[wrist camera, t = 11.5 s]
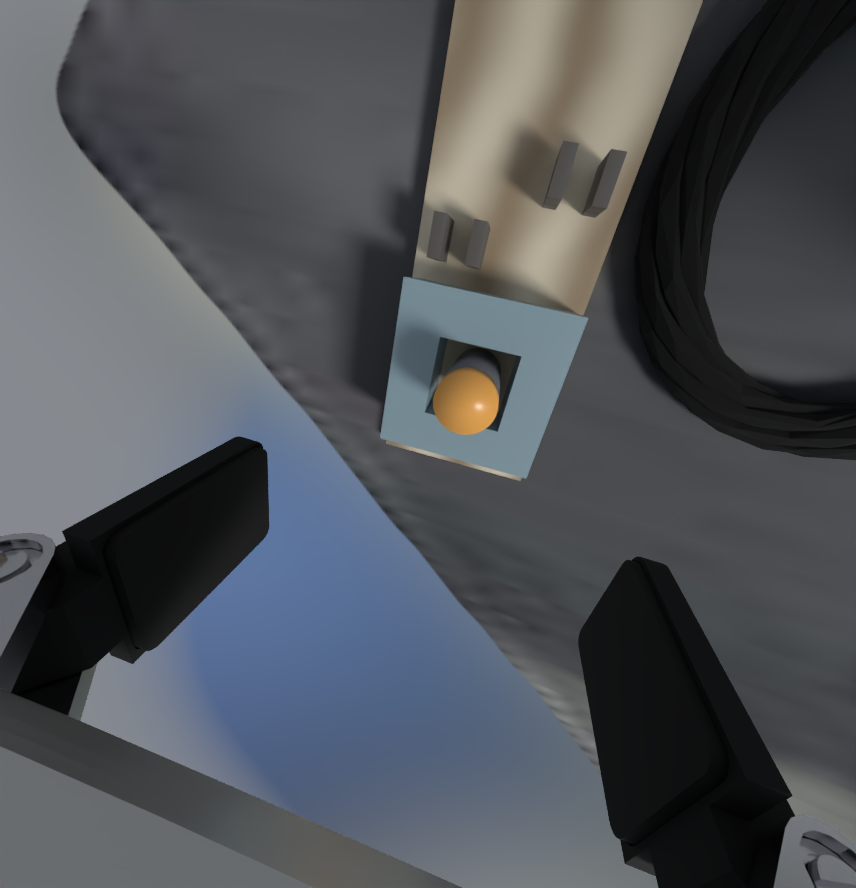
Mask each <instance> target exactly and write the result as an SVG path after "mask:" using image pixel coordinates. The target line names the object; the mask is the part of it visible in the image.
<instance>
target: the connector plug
mask: <svg viewBox="0 0 856 888" xmlns="http://www.w3.org/2000/svg"><path fill="white" fill-rule="evenodd" d="M500 378H501V367H500V364H499V361H498V359H497V358H496V357H495V356H494V355H493V354H492V353H491V352H489V351H487V350H485V349H481V348H474V349H470V350H467V351H465V352H464V353H462V354H461V355H460V356H459V357H458V359H457V360H456V361H455V363H454V364H453V366H452V367H451V368H450V370H449V371H448V373H447V374H446V375H445V377H444V378H443V380H442V381H441V383H440V384H439V385H438V387H437V389H436V391H435V393H434V397H433V409H434V412H435V415H436V417H437V419H438V420H439V422H440V423H441V424H442V425H443V426H444V427H445V428H446V429H448V430H450V431H452V432H454V433H457V434H461V435H471V434H476V433H479V432H481V431H483V430H485V429H486V428H487V427H488V426H489V425H490V424H491V423H492V422H493V421H494V419H495V417H496V415H497V411H498V404H499V391H500Z"/></svg>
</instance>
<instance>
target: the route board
mask: <svg viewBox="0 0 856 888" xmlns="http://www.w3.org/2000/svg"><path fill="white" fill-rule="evenodd" d="M702 2H703V0H455V6H454V13H453V19H452V26H451V32H450V38H449V45H448V51H447V58H446V64H445V70H444V77H443V83H442V90H441V96H440V102H439V109H438V115H437V122H436V128H435V134H434V141H433V147H432V154H431V160H430V166H429V173H428V179H427V186H426V192H425V198H424V205H423V211H422V217H421V224H420V230H419V237H418V243H417V249H416V256H415V262H414V269H413V275H412V277H414V278H422V279H426V280H431V281H435V282H440V283H444V284H449V285H453V286H457V287H462V288H466V289H471V290H475V291H480V292H484V293H489V294H493V295H498V296H502V297H507V298H511V299H516V300H520V301H525V302H529V303H534V304H538V305H542V306H547V307H551V308H556V309H560V310H565V311H569V312H574V313H577V314H580V315H582V316H583V315H584V312H585V310H586V307H587V304H588V302H589V299H590V296H591V294H592V291H593V289H594V286H595V283H596V281H597V278H598V275H599V273H600V270H601V268H602V265H603V262H604V260H605V257H606V254H607V252H608V249H609V247H610V244H611V241H612V239H613V236H614V233H615V231H616V228H617V225H618V223H619V220H620V218H621V215H622V212H623V210H624V207H625V204H626V202H627V199H628V197H629V194H630V191H631V189H632V186H633V183H634V181H635V178H636V176H637V173H638V170H639V168H640V165H641V162H642V160H643V157H644V155H645V152H646V149H647V147H648V144H649V141H650V139H651V136H652V134H653V131H654V128H655V126H656V123H657V120H658V118H659V115H660V112H661V110H662V107H663V105H664V102H665V99H666V97H667V94H668V91H669V89H670V86H671V84H672V81H673V78H674V76H675V73H676V70H677V68H678V65H679V63H680V60H681V57H682V55H683V52H684V49H685V47H686V44H687V42H688V39H689V36H690V34H691V31H692V28H693V26H694V23H695V21H696V18H697V15H698V13H699V10H700V7H701V5H702ZM474 348H481V349H485V350H487V351H489V352H491V353H492V354H493V355H494V356H495V357H496V358H497V359H498V361H499V364H500V367H501V378H500V391H499V404H498V411H497V412H499V411H500V408H501V405H502V402H503V398H504V395H505V392H506V389H507V386H508V382H509V379H510V376H511V373H512V370H513V366H514V363H515V360H516V357H517V355H514V354H509V353H505V352H501V351H497V350H493V349H489V348H484V347H480V346H476V345H472V344H468V343H464V342H460V341H455V340H451V339H448V340H447V345H446V350H445V354H444V359H443V363H442V368H441V373H440V377H439V382H438V385H439V384H440V383H441V381H442V380H443V378H444V377H445V375H446V374H447V373H448V371H449V370H450V368H451V367H452V366H453V364H454V363H455V361H456V360H457V359H458V357H459V356H460V355H461V354H462V353H464V352H465V351H467V350H470V349H474ZM386 444H390V445H393V446H397V447H400V448H404V449H407V450H411V451H415V452H418V453H422V454H425V455H429V456H433V457H436V458H440V459H443V460H447V461H451V462H454V463H458V464H461V465H465V466H468V467H472V468H476V469H479V470H483V471H486V472H490V473H494V474H497V475H501V476H504V477H508V478H512V479H515V480H519V481H520V480H521V478H522V477H518V476H515V475H511V474H508V473H504V472H500V471H497V470H493V469H490V468H486V467H482V466H479V465H475V464H472V463H468V462H464V461H461V460H457V459H454V458H450V457H446V456H443V455H439V454H436V453H432V452H428V451H425V450H421V449H418V448H414V447H410V446H407V445H403V444H400V443H396V442H392V441H389V440H387V441H386Z"/></svg>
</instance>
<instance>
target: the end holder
mask: <svg viewBox="0 0 856 888" xmlns="http://www.w3.org/2000/svg"><path fill="white" fill-rule="evenodd" d="M587 321H588V318H587V317H585V316H582V315H580V314H577V313H574V312H569V311H565V310H560V309H556V308H551V307H547V306H542V305H538V304H534V303H529V302H525V301H520V300H516V299H511V298H507V297H502V296H498V295H493V294H489V293H484V292H480V291H475V290H471V289H466V288H462V287H457V286H453V285H449V284H444V283H440V282H435V281H431V280H426V279H422V278H414V277H403V284H402V291H401V298H400V305H399V312H398V318H397V325H396V332H395V339H394V346H393V353H392V360H391V366H390V373H389V380H388V387H387V394H386V401H385V407H384V414H383V421H382V428H381V435H380V438H382V439H385V440H389V441H392V442H396V443H400V444H403V445H407V446H410V447H414V448H418V449H421V450H425V451H428V452H432V453H436V454H439V455H443V456H446V457H450V458H454V459H457V460H461V461H464V462H468V463H472V464H475V465H479V466H482V467H486V468H490V469H493V470H497V471H500V472H504V473H508V474H511V475H515V476H518V477H522V478H527V475H528V473H529V470H530V467H531V465H532V462H533V460H534V457H535V454H536V452H537V449H538V447H539V444H540V442H541V439H542V436H543V434H544V431H545V429H546V426H547V424H548V421H549V418H550V416H551V413H552V411H553V408H554V406H555V403H556V400H557V398H558V395H559V393H560V390H561V388H562V385H563V382H564V380H565V377H566V375H567V372H568V370H569V367H570V364H571V362H572V359H573V357H574V354H575V352H576V349H577V346H578V344H579V341H580V339H581V336H582V333H583V331H584V328H585V326H586V323H587ZM448 339H451V340H455V341H460V342H464V343H468V344H472V345H476V346H480V347H484V348H489V349H493V350H497V351H501V352H505V353H509V354H514V355H517V357H516V360H515V363H514V366H513V370H512V373H511V376H510V379H509V382H508V386H507V389H506V392H505V395H504V398H503V402H502V405H501V408H500V411H499V412H497V415H496V417H495V419H494V421H493V422H492V423H491V424H490V425H489V426H488V427H487V428H486V429H485V430H483V431H481V432H479V433H476V434H471V435H461V434H457V433H454V432H452V431H450V430H448V429H446V428H445V427H444V426H443V425H442V424H441V423H440V422H439V420H438V419H437V417H436V415H435V412H434V409H433V397H434V393H435V391H436V389H437V387H438V382H439V377H440V373H441V368H442V363H443V359H444V354H445V350H446V345H447V340H448Z"/></svg>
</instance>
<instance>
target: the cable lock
mask: <svg viewBox="0 0 856 888" xmlns="http://www.w3.org/2000/svg"><path fill="white" fill-rule="evenodd" d="M855 23H856V0H768V1H767V2H766V4H765V5H764V6H763V8H762V9H761V10H760V12H759V13H758V14H757V15H756V16H755V17H754V18H753V20H752V21H751V22H750V23H749V24H748V25H747V26H746V28H745V29H744V30H743V31H742V32H741V33H740V34H739V36H738V37H737V38H736V39H735V40H734V41H733V42H732V44H731V45H730V46H729V47H728V48H727V49H726V50H725V52H724V54H723V55H722V57H721V58H720V60H719V61H718V63H717V64H716V66H715V67H714V69H713V70H712V72H711V73H710V75H709V76H708V78H707V79H706V81H705V82H704V84H703V86H702V87H701V89H700V90H699V92H698V93H697V95H696V96H695V98H694V99H693V101H692V102H691V104H690V105H689V107H688V109H687V112H686V114H685V117H684V120H683V122H682V124H681V125H680V127H679V129H678V131H677V133H676V135H675V137H674V139H673V141H672V143H671V145H670V147H669V148H668V150H667V152H666V154H665V156H664V158H663V160H662V162H661V164H660V167H659V170H658V172H657V175H656V178H655V181H654V184H653V187H652V190H651V193H650V196H649V198H648V201H647V204H646V207H645V210H644V213H643V224H642V230H641V235H640V239H639V243H638V248H637V252H636V256H635V290H636V300H637V306H638V312H639V318H640V333H641V335H642V338H643V340H644V343H645V346H646V348H647V351H648V353H649V356H650V359H651V361H652V364H653V366H654V367H655V369H656V370H657V372H658V373H659V375H660V377H661V378H662V380H663V381H664V383H665V384H666V386H667V388H668V389H669V391H670V392H671V393H672V394H673V395H674V396H676V397H677V398H678V399H679V400H680V401H681V402H683V403H684V405H685V406H686V407H687V408H688V409H689V410H690V411H691V412H692V413H693V414H695V415H696V416H697V417H699V418H700V419H702V420H703V421H705V422H706V423H707V424H709V425H710V426H712V427H713V428H715V429H716V430H717V431H719V432H722V433H724V434H727V435H729V436H732V437H734V438H736V439H739V440H741V441H744V442H746V443H749V444H751V445H754V446H756V447H759V448H761V449H765V450H773V451H781V452H788V453H792V454H795V455H799V456H803V457H817V458H832V459H847V460H856V404H833V403H805V402H800V401H798V400H795V399H793V398H791V397H789V396H786V395H784V394H782V393H780V392H778V391H775V390H773V389H771V388H769V387H766V386H764V385H762V384H760V383H758V382H756V381H754V380H753V379H752V378H751V377H750V376H749V375H748V374H747V373H746V372H744V371H743V370H742V369H741V368H740V367H739V366H738V365H737V364H735V363H734V362H733V361H732V360H731V359H730V358H729V357H728V356H726V354H725V353H724V351H723V349H722V348H721V346H720V344H719V341H718V338H717V335H716V331H715V328H714V325H713V322H712V319H711V315H710V312H709V309H708V306H707V303H706V299H705V296H704V291H705V283H706V275H707V268H708V260H709V252H710V244H711V237H712V229H713V224H714V221H715V217H716V213H717V210H718V207H719V204H720V202H721V199H722V196H723V194H724V191H725V190H726V188H727V186H728V184H729V182H730V180H731V178H732V177H733V175H734V173H735V171H736V169H737V167H738V166H739V164H740V162H741V160H742V158H743V156H744V154H745V153H746V151H747V149H748V147H749V145H750V143H751V142H752V140H753V138H754V136H755V134H756V132H757V130H758V129H759V127H760V125H761V123H762V122H763V121H764V119H765V118H766V116H767V115H768V113H769V112H770V111H771V110H772V109H773V108H774V107H775V105H776V104H777V103H778V102H779V101H780V100H781V99H782V97H783V96H784V95H785V94H786V93H787V92H788V91H789V89H790V88H791V87H792V86H793V85H794V84H795V83H796V81H797V80H798V79H799V78H800V77H801V76H802V75H803V73H804V72H805V71H806V70H807V69H808V68H809V67H810V65H811V64H812V63H813V62H814V61H815V60H816V58H817V57H818V56H819V55H820V54H821V53H822V52H823V50H824V49H825V48H826V47H828V46H829V45H830V44H831V43H832V42H834V41H835V40H836V39H837V38H838V37H840V36H841V35H842V34H843V33H844V32H846V31H847V30H848V29H849V28H850V27H852V26H853V25H854V24H855Z"/></svg>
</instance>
